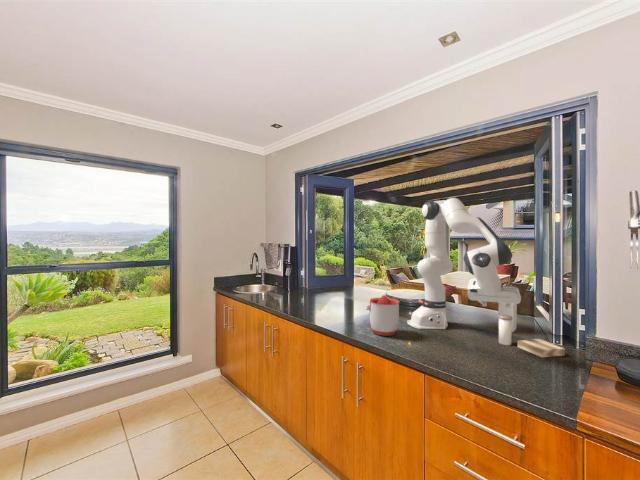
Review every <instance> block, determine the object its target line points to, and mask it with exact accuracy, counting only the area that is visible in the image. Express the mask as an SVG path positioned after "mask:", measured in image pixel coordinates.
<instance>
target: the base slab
mask: <svg viewBox="0 0 640 480" xmlns="http://www.w3.org/2000/svg"><path fill="white" fill-rule="evenodd" d="M517 348H520V349H522V350H524V351H526V352H528V353H530V354H533V355H535V356H537V357H540V358H542V359H544V358H551V357H553V358H554V357H562V356H566V348H565V347H562V346H560V345H557V344H554V343H550V342H549V341H546V340H544V339H540V338H530V339H529V338H528V339H518V340H517Z"/></svg>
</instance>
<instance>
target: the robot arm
mask: <svg viewBox="0 0 640 480" xmlns="http://www.w3.org/2000/svg"><path fill="white" fill-rule="evenodd" d="M421 215H422V218H423V219H424V220H425V227H424V247H425V248H426V250H427V251H428V254H429V257H425V258H423V259H420V260H419V261H418V262H417V265H416V268H417V272H418V274H419V275H420V276H421V278H422V280H423V285H424V298H423V300H422V299H418V303H419V304H421V305H420V306H419V307H418V308H417V309H415V310H414V311H412V313H411V316H410V317H411V318H410V319H407V321H406V323H407V324H408V325H409V326H411V327H413V328H415V329H418V330H447V329H446V328H448V326H449V325H448V321H447V314H446V308H447V300H446V286H445V285H444V284H443V281H442V277H441V276H445V275H447V274H449V273H451V272H452V270H453V267H454V266H453V265H454V264H453V262H452V260H451V259H450V257H449V254H448V251H447V246H446V242H447V241H446V224H447V227H449V229H450V230H451V231H453V232H455V233H458V234H470V233H473V234H475V233H476V234H480V235H482V236H483V237H484V238H485V239H486V241H487V242H488V243H489V244H487V245H484V246H483V245H482V246H481V247H476V248H474V249H471V250H468V251H466V252H465V253H464V256H463V261H464V265H465V267H466V270H467V271H468V273H470V274H471V275H472V276H474V277H473V278H471V279H469V281H468V282H467V289H466V290H467V292H466V293H467V294H466V295H467V298H468V300H469V301H473V302H474V301H476V302H478V303H480V304H481V305H482V307H487V305H488V303H489V302H490V303H498V304H499V303H506V308H509V309H510V308H511V305H512V304H517V305H519V304H520V303H521V301H522V296H521V294H520V289H519V287H516V286H514V285H503V284H502V282H501V279H500V276H499V273H498V269H497V266H503V265H507V264H509V263H510V261H511V260H512V259H513V252H512V250H511V248H510V247H509V245H508V244H506V242H505V241H504V240H502V238H500V236H498V235H497V234H496V232H495V231H494V230H493V229H492V228H491V226H489V225H488V223H486V221H485V220H484V219H482V218H481V217H479V216H478V217H477V216H474V215H473V214H470V212H469V211H468V209H467V207H466V206H465V204H463V202H462V201H461V200H460V199H459V198H457V197H450V198H447V199H446V200H445V199H443V200H428V201H425V202H424V203H423V205H422V207H421Z"/></svg>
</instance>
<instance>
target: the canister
mask: <svg viewBox="0 0 640 480" xmlns="http://www.w3.org/2000/svg"><path fill="white" fill-rule="evenodd" d="M512 333H513V332H512V316H508V315H499V329H498V344H499V345H503V346H511V345H512Z"/></svg>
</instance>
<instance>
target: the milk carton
mask: <svg viewBox="0 0 640 480" xmlns="http://www.w3.org/2000/svg"><path fill="white" fill-rule="evenodd" d="M517 307H518V304H512V305H511V308H510V309H509V308H506V303H499V302H498V311H497V312H498V316H497V317H498V318H497V319H498V321H497V330H499V315H508V316H512V333H514V332H516V330H517V321H518V320H517V316H518V315H517V312H518V309H517Z"/></svg>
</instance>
